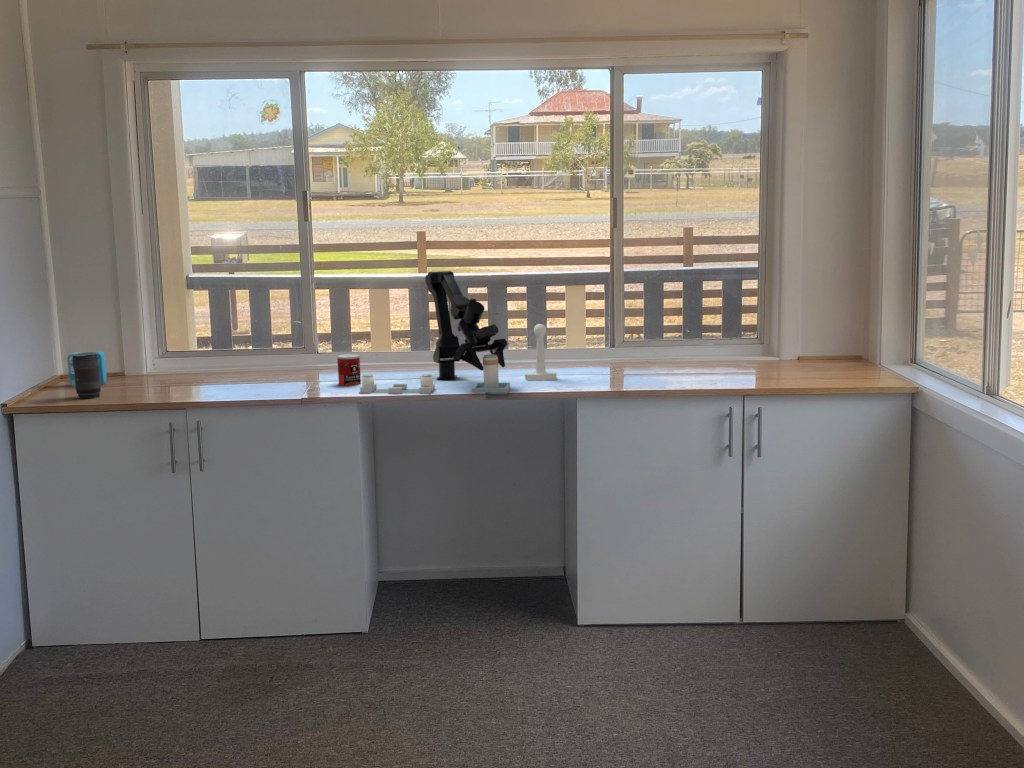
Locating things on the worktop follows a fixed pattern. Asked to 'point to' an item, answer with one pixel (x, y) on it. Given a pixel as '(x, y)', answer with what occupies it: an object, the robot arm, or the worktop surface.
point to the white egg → (368, 381)
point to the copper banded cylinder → (490, 371)
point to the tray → (492, 389)
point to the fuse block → (397, 389)
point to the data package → (101, 367)
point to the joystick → (540, 358)
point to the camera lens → (87, 374)
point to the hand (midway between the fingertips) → (493, 368)
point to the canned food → (349, 370)
